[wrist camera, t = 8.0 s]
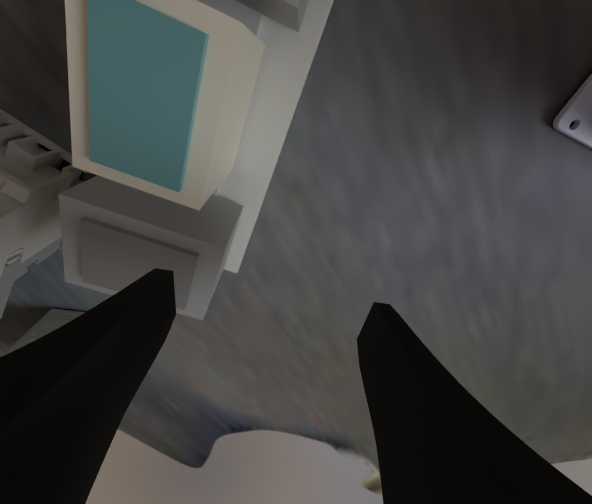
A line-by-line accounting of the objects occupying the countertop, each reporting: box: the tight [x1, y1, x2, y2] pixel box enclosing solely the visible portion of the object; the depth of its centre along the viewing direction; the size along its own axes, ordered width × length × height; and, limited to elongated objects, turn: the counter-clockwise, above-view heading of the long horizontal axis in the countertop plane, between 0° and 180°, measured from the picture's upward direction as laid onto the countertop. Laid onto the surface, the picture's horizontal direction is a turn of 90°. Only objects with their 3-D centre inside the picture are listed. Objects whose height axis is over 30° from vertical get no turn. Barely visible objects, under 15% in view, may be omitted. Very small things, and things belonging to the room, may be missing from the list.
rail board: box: [59, 0, 334, 320], centre depth 12 cm, size 9×20×7 cm, turn 158°
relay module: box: [65, 0, 265, 210], centre depth 11 cm, size 4×6×6 cm
